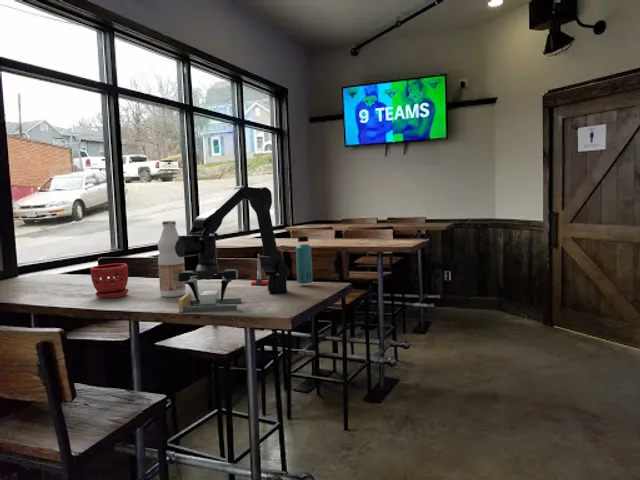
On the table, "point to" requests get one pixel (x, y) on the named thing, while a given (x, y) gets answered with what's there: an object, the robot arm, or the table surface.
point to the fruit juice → (170, 262)
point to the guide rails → (186, 302)
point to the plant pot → (110, 280)
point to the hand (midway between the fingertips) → (209, 301)
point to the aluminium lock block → (209, 298)
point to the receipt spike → (259, 275)
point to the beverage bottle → (304, 261)
